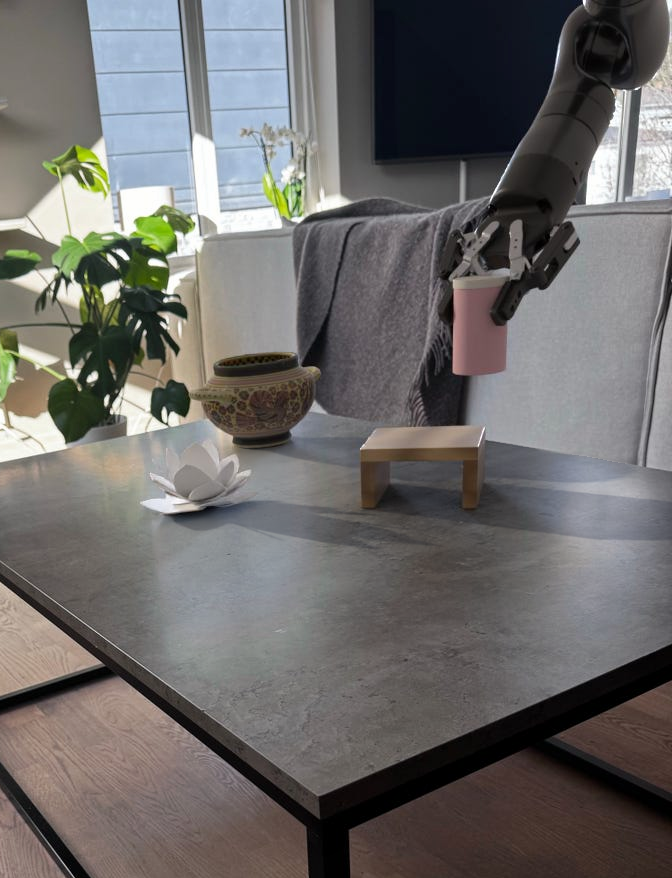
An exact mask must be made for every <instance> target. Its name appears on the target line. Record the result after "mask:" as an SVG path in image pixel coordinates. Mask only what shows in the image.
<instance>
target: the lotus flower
mask: <svg viewBox="0 0 672 878" xmlns="http://www.w3.org/2000/svg"><path fill="white" fill-rule="evenodd" d="M152 462H153V463H154V465H156V467H158V469H159V470H160V471H161V473H162V474H163V475H164V476H165V477H166V478H165V477H163V476H160V475H158V474H156V473H153V472H150V473H149V475H150V479H151V480H152V483H153V484H154V485H156V487H157V488H158V489H159V490H160V491H161V492H163V493H164V494H165V498H150V499H146V500H143V501H140V505H141V506H143V507H144V508H146V509H149V510H151V511H155V512H157V513H158V515H159V516H163V515H176V514H180V513H187V512H198V511H202V510H205V509H206V508H207V507H210V506H211V507H212V506H213V507H219V508H227V507H230V506H235V505H237V504H241V503H243V502H245V501H248V500H249V499H251V498H254V496H256V495H258V494H259V493H260V491H259V490H244V491H243V490H242V491H240V489H241V488H243V486H245V485H246V483H248V481H249V479H250V478H251V474H252V469H247V470H243V471H241V472H239V470H240V460H239V458H238V455H237V453H233V454H231V455H228V456H226V457H224V458H223V459H221V456H220V453H219V449H218V447H217V446H216V444H215V443H214V442H213V441H212V440H211V439H210V438H208V437H207V438H206V439H204V441H203V442H201V443H199V442H198V441H195V442H193V443H192V444H190V445H189V446H188V447H186V448H185V449H184V451H182V454H181V456H180V457H179V455H178V454H177V453H176V452H175V451H174V450H172V449H171V448H170V447H166V449H165V465H166V470H167V474H166V473H165V471H164V470H163V468H161V466H160V465H158V463H157V462H156V460H155V459H152Z"/></svg>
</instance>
